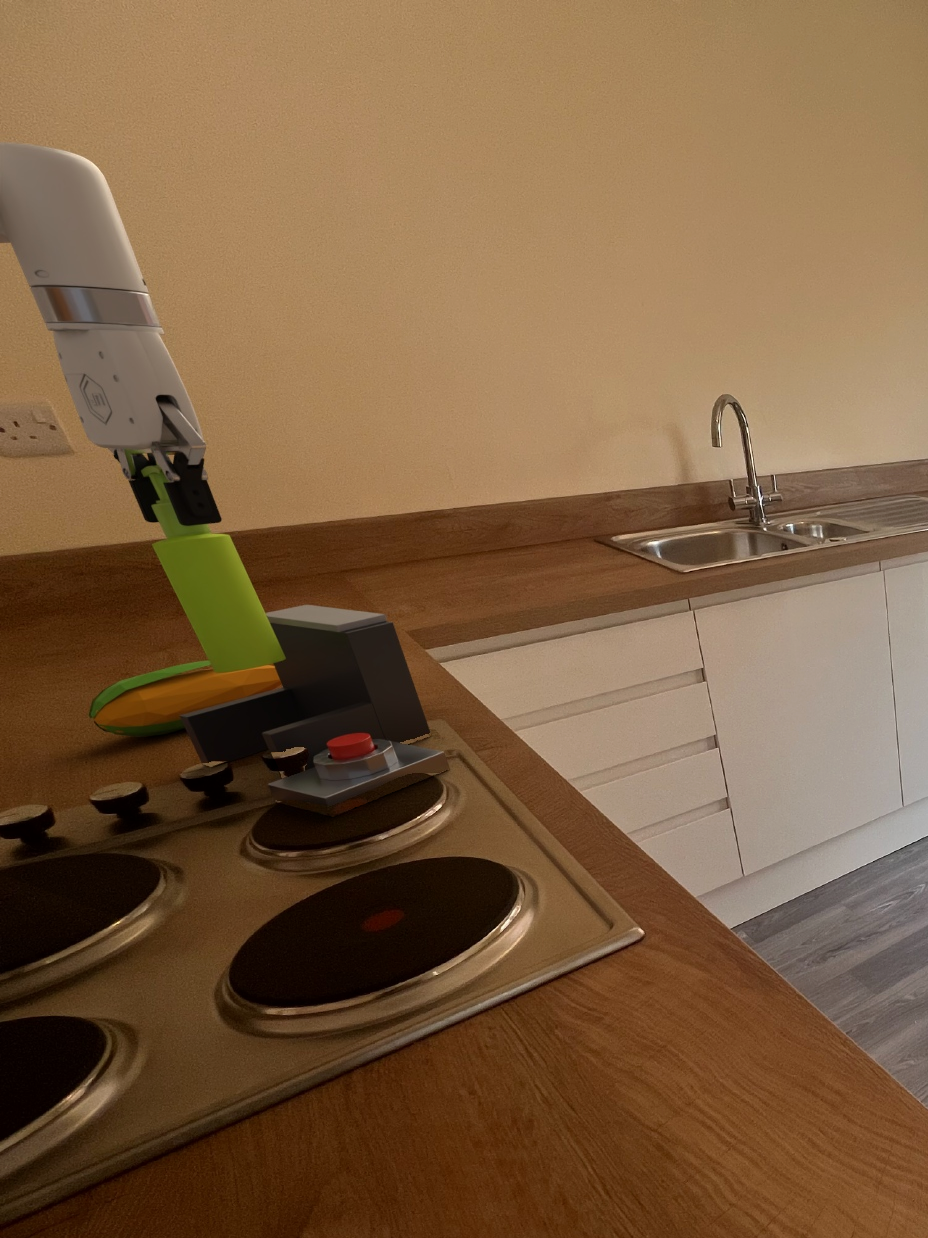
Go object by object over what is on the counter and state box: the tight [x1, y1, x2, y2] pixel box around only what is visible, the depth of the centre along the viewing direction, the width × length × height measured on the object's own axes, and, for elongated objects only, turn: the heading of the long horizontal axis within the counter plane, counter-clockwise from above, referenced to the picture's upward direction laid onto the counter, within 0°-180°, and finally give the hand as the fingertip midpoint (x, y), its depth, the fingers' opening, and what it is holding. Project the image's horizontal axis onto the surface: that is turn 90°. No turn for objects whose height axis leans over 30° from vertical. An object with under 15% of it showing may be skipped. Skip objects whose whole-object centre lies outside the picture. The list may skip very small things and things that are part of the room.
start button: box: [327, 733, 376, 760], centre depth 86 cm, size 4×4×2 cm
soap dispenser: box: [141, 465, 286, 673], centre depth 85 cm, size 6×7×20 cm
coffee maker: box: [180, 604, 431, 770], centre depth 94 cm, size 15×16×15 cm
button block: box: [267, 739, 451, 806], centre depth 87 cm, size 12×9×4 cm
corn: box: [88, 659, 282, 738], centre depth 105 cm, size 7×8×20 cm
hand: (183, 520), depth 83 cm, fingers closed on soap dispenser, 5 cm apart
